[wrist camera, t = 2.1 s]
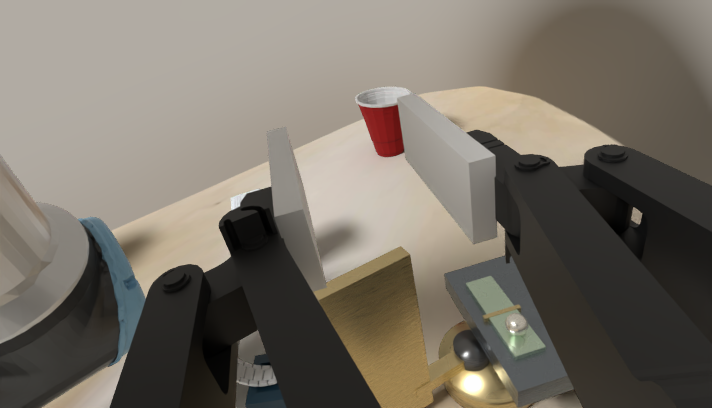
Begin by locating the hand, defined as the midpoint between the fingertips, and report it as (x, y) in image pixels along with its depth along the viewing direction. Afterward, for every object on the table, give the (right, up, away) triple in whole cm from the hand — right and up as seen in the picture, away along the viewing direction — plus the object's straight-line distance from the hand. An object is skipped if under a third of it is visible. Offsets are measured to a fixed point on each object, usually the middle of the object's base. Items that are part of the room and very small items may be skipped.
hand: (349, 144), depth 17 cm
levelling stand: (+19, -17, +24) cm, 35 cm away
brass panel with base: (+10, -20, +21) cm, 31 cm away
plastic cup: (+8, +8, +70) cm, 70 cm away
